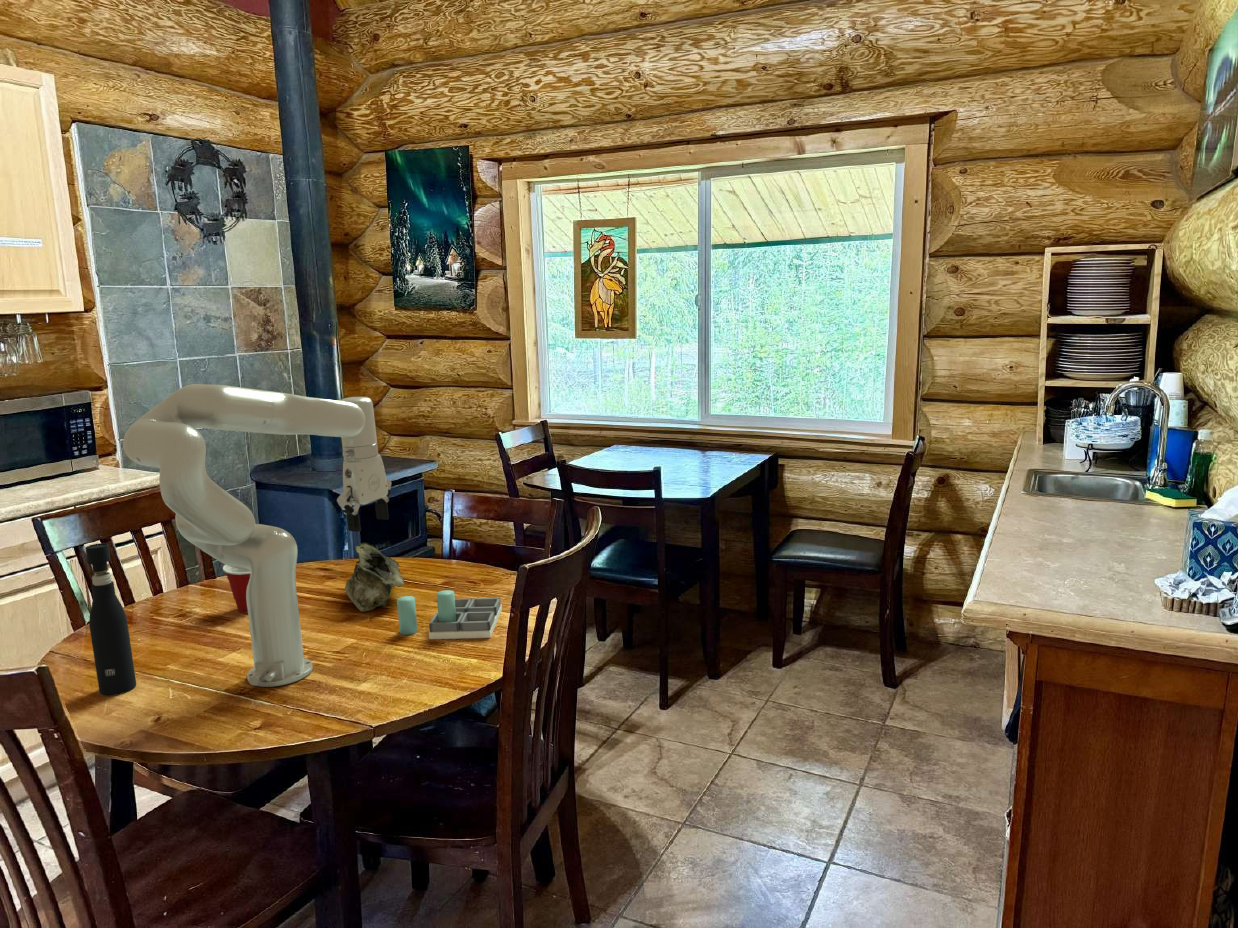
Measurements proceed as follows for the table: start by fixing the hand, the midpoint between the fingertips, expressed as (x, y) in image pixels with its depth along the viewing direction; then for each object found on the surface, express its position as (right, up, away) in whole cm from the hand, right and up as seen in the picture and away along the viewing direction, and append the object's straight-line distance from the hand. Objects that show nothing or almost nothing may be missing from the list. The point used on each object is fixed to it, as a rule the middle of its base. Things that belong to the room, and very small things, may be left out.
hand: (369, 524), depth 191 cm
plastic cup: (-37, -23, +21) cm, 48 cm away
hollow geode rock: (-7, -21, +29) cm, 36 cm away
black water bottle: (-44, -32, -23) cm, 59 cm away
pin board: (+21, -24, +7) cm, 33 cm away
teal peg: (+8, -25, +3) cm, 27 cm away
